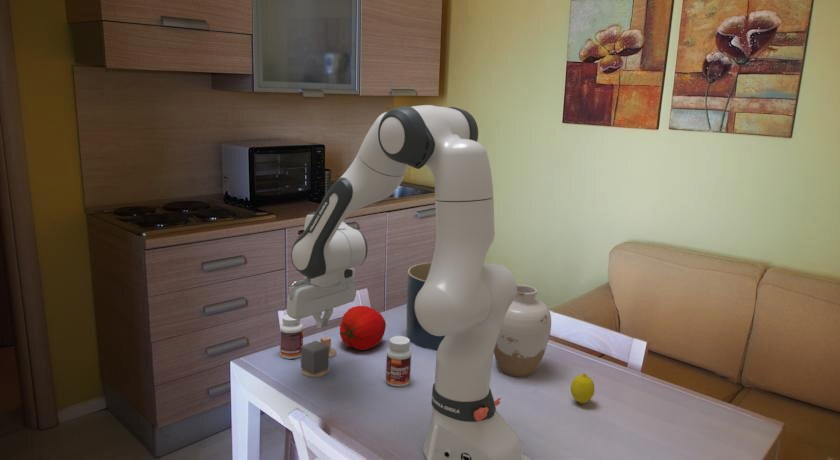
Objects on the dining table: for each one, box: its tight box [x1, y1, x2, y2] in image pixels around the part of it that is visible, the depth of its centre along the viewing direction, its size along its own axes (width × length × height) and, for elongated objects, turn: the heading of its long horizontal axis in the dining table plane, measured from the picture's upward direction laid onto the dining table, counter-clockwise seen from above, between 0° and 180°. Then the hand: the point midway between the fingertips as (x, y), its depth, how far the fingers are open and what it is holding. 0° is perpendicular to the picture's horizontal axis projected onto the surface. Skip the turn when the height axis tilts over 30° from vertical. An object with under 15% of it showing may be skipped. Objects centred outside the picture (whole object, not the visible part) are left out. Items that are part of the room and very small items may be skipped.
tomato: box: [338, 305, 387, 351], centre depth 173 cm, size 13×13×13 cm
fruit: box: [570, 372, 595, 405], centre depth 146 cm, size 6×6×8 cm
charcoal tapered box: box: [300, 340, 330, 374], centre depth 156 cm, size 5×5×6 cm
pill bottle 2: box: [385, 335, 412, 387], centre depth 153 cm, size 6×6×11 cm
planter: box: [405, 261, 445, 351], centre depth 181 cm, size 22×22×20 cm
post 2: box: [319, 336, 337, 359], centre depth 167 cm, size 6×6×4 cm
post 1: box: [300, 368, 330, 379], centre depth 156 cm, size 7×7×6 cm
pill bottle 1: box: [279, 313, 304, 360], centre depth 165 cm, size 6×6×11 cm
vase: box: [493, 284, 552, 378], centre depth 161 cm, size 16×16×23 cm
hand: (322, 326), depth 154 cm, fingers closed
